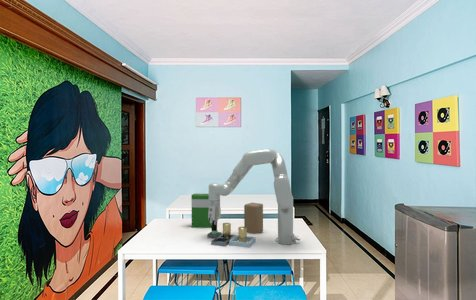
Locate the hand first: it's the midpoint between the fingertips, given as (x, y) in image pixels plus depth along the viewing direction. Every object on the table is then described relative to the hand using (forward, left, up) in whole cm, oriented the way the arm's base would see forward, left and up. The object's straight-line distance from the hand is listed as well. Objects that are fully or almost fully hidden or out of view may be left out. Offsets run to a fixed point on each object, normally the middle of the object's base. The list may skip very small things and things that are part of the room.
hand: (214, 230), depth 203 cm
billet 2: (-22, +6, -5) cm, 24 cm away
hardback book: (+20, -24, -5) cm, 32 cm away
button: (0, 0, -3) cm, 3 cm away
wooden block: (-20, -21, -5) cm, 30 cm away
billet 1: (-10, +3, -4) cm, 11 cm away
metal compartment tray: (-10, +7, -5) cm, 13 cm away
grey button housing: (0, 0, -5) cm, 5 cm away
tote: (-22, +6, -5) cm, 24 cm away
